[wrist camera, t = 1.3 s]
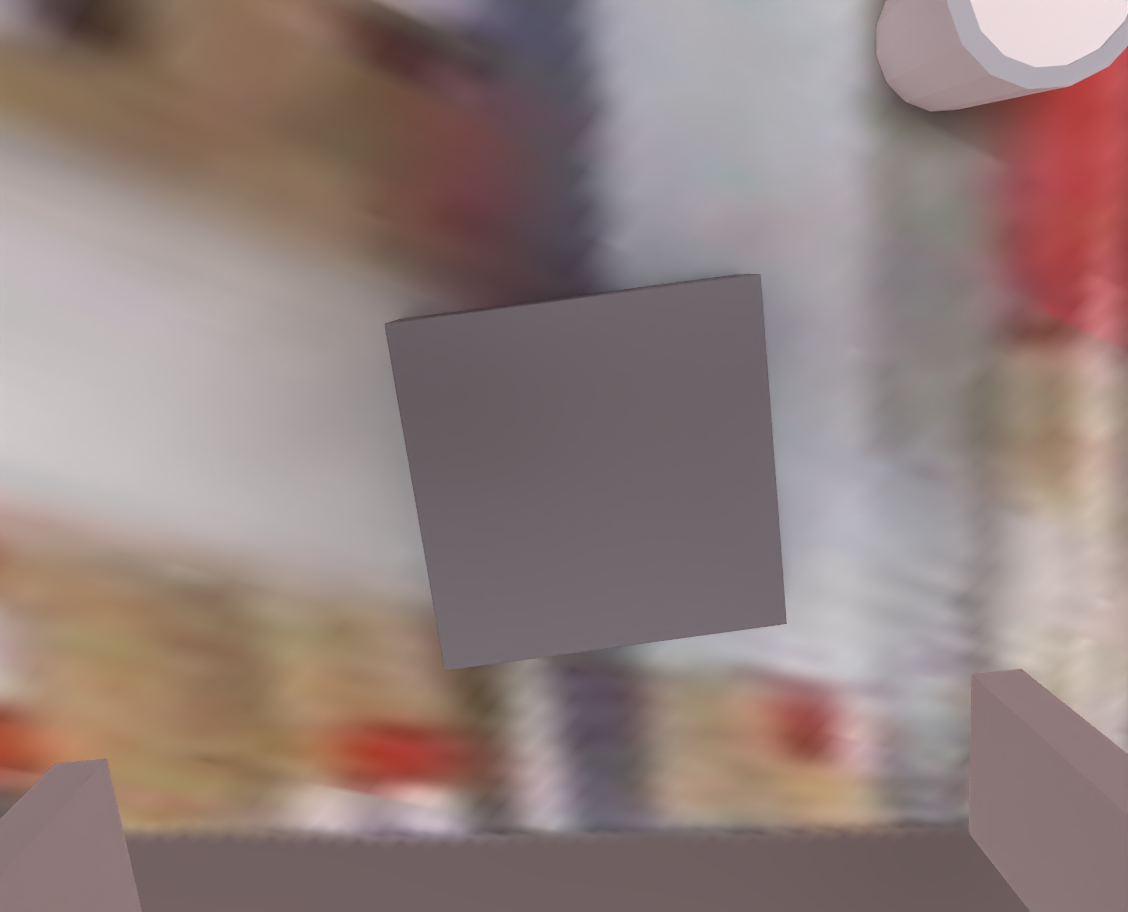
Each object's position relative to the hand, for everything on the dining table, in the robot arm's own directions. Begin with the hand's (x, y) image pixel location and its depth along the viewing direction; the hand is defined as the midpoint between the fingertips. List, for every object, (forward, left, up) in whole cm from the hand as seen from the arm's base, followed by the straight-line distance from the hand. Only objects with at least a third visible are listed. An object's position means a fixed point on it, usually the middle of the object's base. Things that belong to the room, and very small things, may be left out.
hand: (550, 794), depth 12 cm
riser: (0, +2, -24) cm, 24 cm away
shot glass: (-15, +18, -23) cm, 33 cm away
